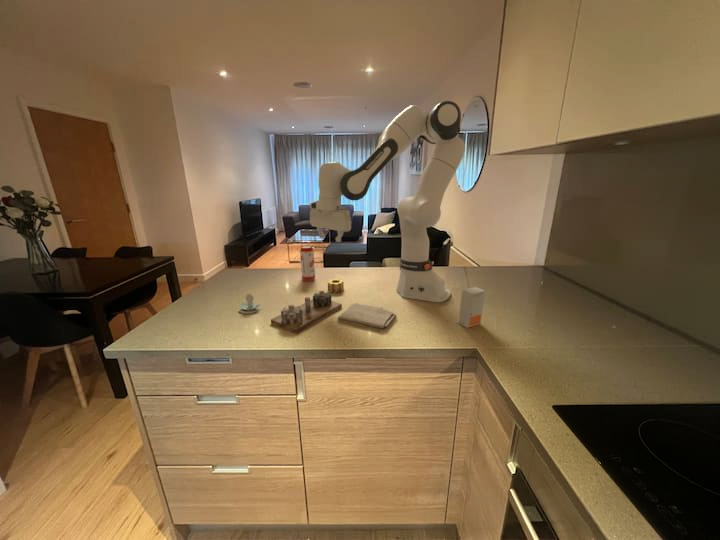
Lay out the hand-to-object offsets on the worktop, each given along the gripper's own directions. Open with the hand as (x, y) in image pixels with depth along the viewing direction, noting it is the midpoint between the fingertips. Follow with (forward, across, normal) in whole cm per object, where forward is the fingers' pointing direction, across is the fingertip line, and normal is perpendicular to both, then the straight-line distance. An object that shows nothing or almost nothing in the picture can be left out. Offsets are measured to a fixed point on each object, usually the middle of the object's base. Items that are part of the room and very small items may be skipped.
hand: (329, 239), depth 118 cm
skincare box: (+20, -58, -7) cm, 62 cm away
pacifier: (+24, +9, +33) cm, 41 cm away
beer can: (+23, +18, -4) cm, 30 cm away
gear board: (+22, -11, +22) cm, 33 cm away
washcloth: (+22, -29, +11) cm, 38 cm away
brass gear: (+22, -2, -2) cm, 22 cm away
